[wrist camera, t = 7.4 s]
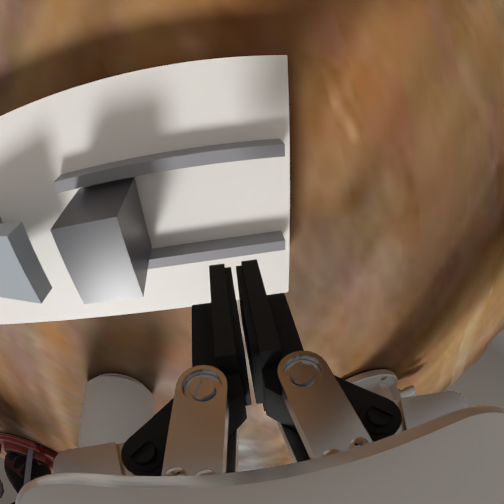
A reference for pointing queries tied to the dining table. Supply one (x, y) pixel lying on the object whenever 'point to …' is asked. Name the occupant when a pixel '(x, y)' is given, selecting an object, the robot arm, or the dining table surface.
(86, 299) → the slider
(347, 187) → the dining table surface
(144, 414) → the can
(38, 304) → the panel
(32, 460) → the hourglass
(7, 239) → the slate rocker
